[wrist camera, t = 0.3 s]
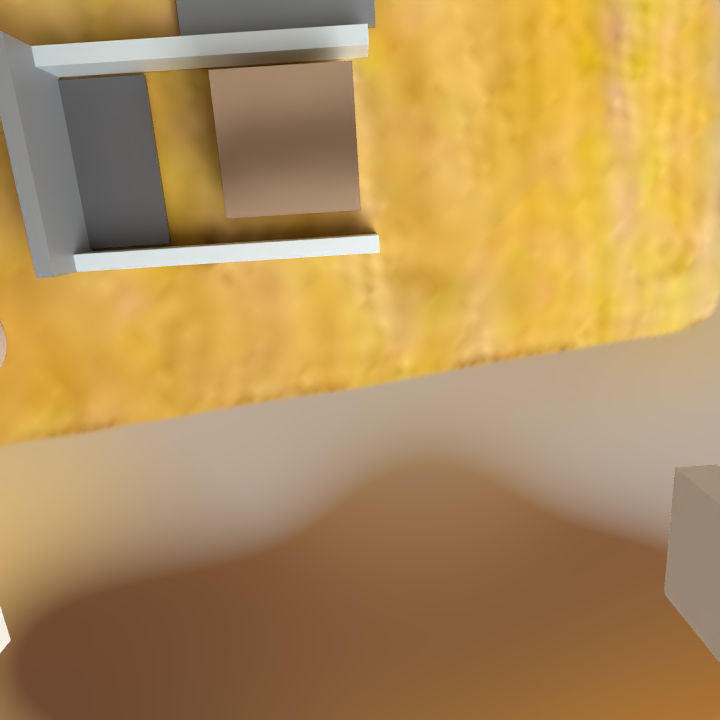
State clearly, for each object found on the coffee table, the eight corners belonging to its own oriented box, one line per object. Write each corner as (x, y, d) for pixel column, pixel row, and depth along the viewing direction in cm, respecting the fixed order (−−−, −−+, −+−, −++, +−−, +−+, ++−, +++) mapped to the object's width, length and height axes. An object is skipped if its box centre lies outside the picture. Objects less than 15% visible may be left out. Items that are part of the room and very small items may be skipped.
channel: (38, 59, 31) (-19, 32, 27) (366, 37, 31) (368, 6, 26) (80, 268, 35) (36, 278, 30) (377, 249, 34) (381, 255, 30)
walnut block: (234, 94, 32) (208, 69, 26) (352, 87, 32) (351, 60, 26) (248, 216, 34) (226, 218, 28) (359, 209, 34) (360, 209, 28)
